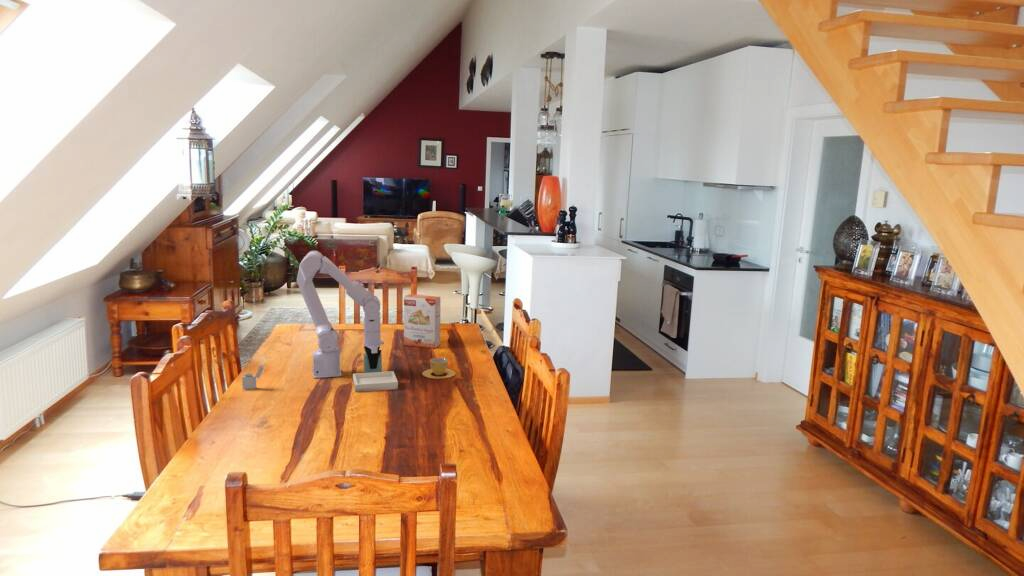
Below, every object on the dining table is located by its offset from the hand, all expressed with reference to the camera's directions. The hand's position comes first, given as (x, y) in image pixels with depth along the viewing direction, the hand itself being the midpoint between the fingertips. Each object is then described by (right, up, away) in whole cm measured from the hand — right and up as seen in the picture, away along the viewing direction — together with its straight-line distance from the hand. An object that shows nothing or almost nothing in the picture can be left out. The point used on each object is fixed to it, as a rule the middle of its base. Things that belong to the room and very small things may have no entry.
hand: (372, 367), depth 250 cm
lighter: (-36, -5, -18) cm, 41 cm away
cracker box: (+13, +4, +37) cm, 39 cm away
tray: (+3, -5, -12) cm, 13 cm away
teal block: (0, -2, 0) cm, 2 cm away
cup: (+24, -3, +1) cm, 24 cm away
